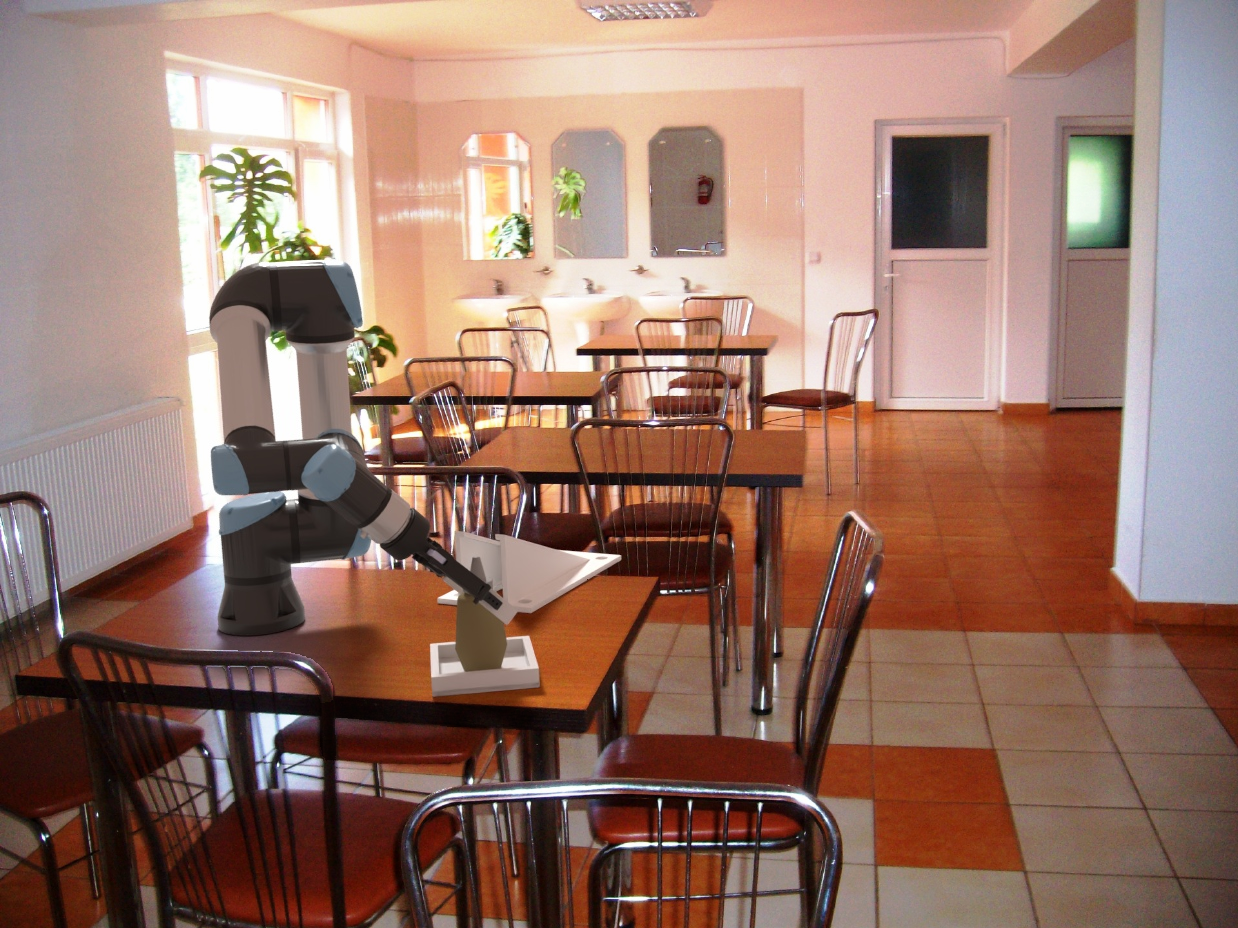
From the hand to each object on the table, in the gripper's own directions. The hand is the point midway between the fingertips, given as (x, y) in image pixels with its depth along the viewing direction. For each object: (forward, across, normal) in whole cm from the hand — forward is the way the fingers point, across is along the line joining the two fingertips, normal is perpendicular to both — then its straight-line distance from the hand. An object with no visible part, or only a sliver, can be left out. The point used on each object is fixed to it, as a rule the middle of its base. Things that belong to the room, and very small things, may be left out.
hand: (493, 606), depth 187 cm
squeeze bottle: (+5, 0, -9) cm, 10 cm away
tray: (+6, 0, -9) cm, 11 cm away
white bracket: (+10, -33, +6) cm, 35 cm away
